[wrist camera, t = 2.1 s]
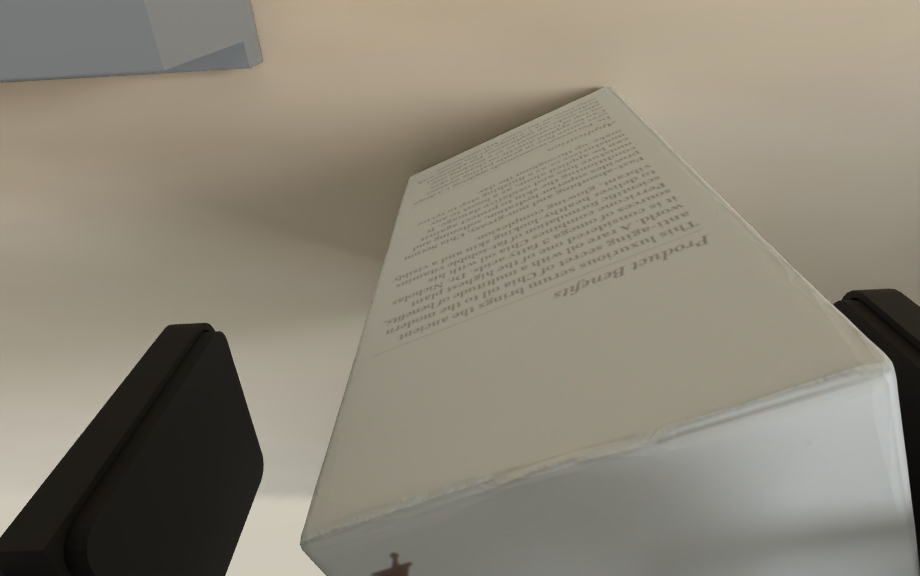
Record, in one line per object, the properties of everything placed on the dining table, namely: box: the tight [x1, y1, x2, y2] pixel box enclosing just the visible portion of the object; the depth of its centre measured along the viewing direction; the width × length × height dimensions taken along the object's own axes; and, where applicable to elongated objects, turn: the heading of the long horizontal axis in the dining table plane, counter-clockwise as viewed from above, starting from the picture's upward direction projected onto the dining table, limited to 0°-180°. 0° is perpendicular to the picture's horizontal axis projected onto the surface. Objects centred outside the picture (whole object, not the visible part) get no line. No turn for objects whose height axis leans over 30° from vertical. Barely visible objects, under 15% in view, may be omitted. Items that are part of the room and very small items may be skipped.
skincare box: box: [300, 86, 920, 576], centre depth 12 cm, size 6×4×12 cm
